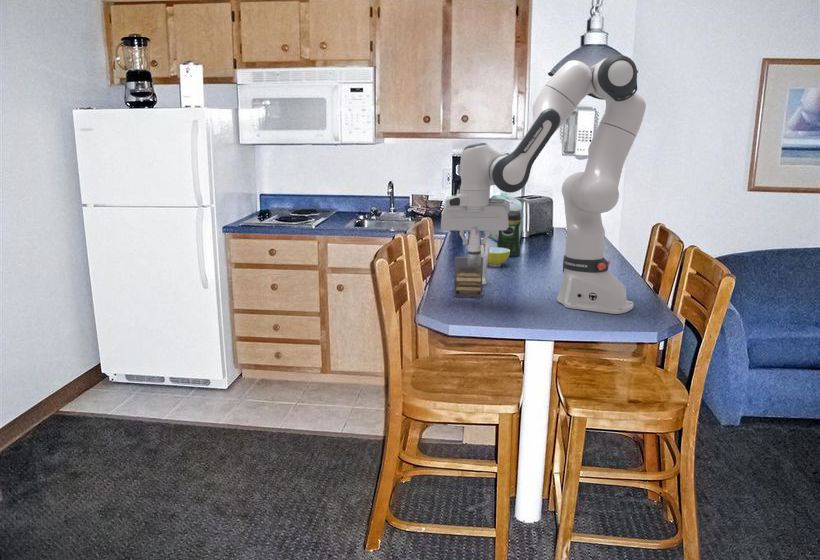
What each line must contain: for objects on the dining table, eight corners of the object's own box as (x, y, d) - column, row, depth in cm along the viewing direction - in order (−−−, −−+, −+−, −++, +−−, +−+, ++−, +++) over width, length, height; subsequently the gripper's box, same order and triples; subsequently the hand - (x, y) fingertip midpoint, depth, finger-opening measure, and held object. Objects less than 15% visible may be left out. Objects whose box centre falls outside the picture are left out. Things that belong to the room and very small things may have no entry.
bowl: (475, 266, 246) (475, 250, 245) (486, 261, 256) (486, 246, 255) (503, 270, 241) (504, 253, 240) (513, 264, 251) (514, 248, 250)
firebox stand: (482, 297, 203) (483, 263, 200) (453, 296, 204) (454, 262, 201) (481, 290, 212) (483, 257, 209) (454, 289, 212) (455, 256, 210)
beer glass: (472, 286, 217) (473, 242, 214) (464, 281, 224) (466, 238, 220) (491, 285, 219) (493, 241, 215) (483, 280, 226) (485, 237, 222)
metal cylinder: (483, 264, 198) (483, 225, 195) (476, 266, 195) (476, 227, 192) (472, 262, 200) (472, 224, 197) (464, 265, 197) (465, 226, 194)
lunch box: (483, 235, 315) (485, 191, 310) (504, 235, 317) (506, 191, 312) (501, 245, 289) (503, 197, 284) (523, 245, 291) (525, 197, 286)
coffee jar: (520, 254, 271) (522, 209, 267) (518, 257, 264) (521, 212, 259) (497, 252, 273) (499, 208, 269) (494, 256, 266) (496, 211, 262)
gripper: (509, 197, 195) (508, 243, 198) (441, 198, 197) (441, 243, 200) (510, 200, 189) (509, 247, 192) (440, 200, 190) (440, 246, 194)
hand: (474, 245), depth 196 cm, fingers closed on metal cylinder, 4 cm apart
